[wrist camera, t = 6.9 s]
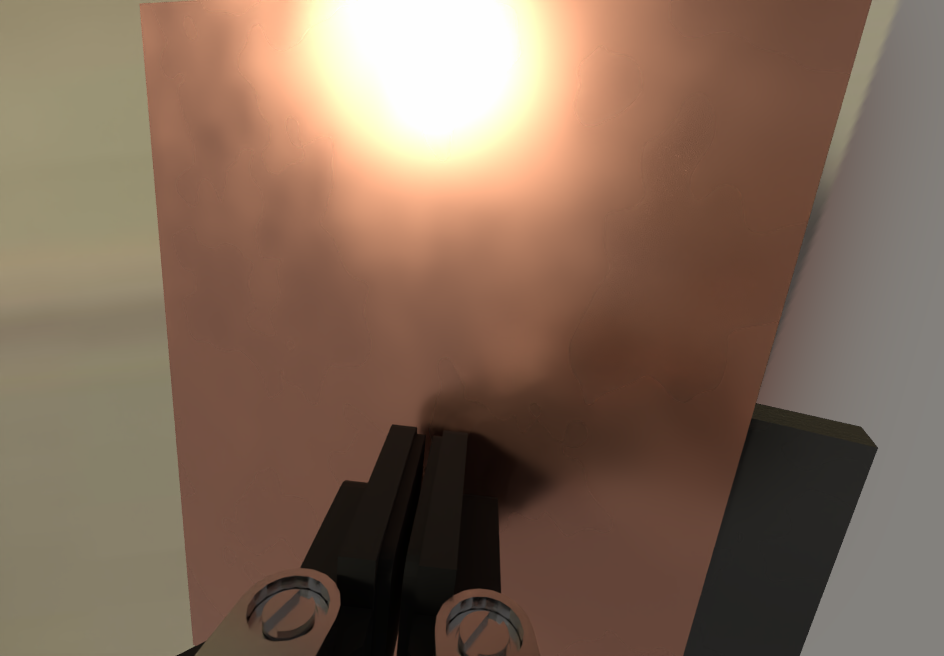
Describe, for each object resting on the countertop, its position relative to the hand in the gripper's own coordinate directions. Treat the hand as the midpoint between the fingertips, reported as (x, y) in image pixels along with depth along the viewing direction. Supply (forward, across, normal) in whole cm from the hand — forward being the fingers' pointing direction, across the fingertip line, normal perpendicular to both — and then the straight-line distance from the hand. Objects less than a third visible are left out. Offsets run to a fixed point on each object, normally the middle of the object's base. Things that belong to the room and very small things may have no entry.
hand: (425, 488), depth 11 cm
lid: (+2, 0, 0) cm, 2 cm away
